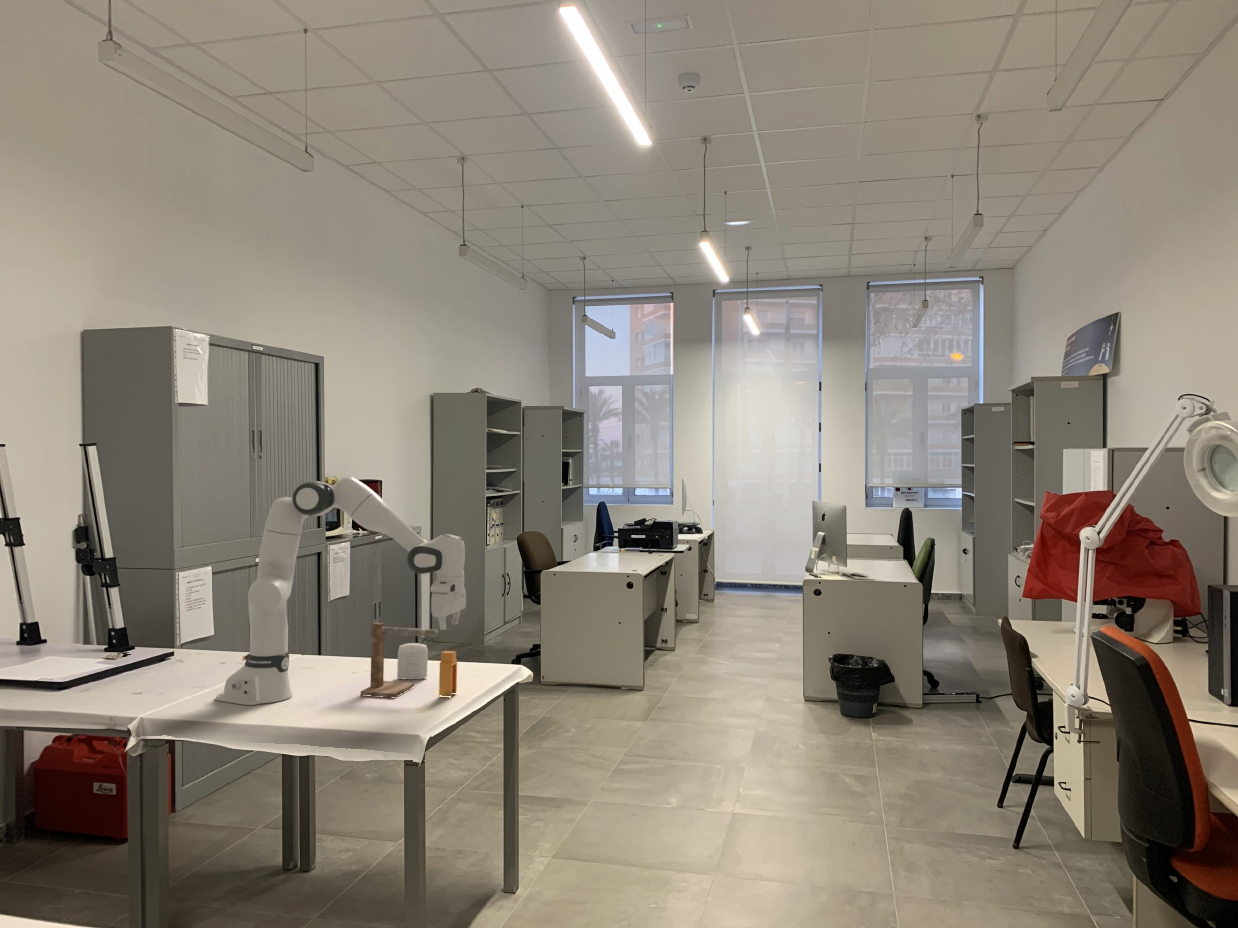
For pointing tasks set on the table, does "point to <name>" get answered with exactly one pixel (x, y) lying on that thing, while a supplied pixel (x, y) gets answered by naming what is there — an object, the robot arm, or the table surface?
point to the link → (448, 673)
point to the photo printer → (412, 661)
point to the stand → (377, 660)
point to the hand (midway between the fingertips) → (449, 626)
